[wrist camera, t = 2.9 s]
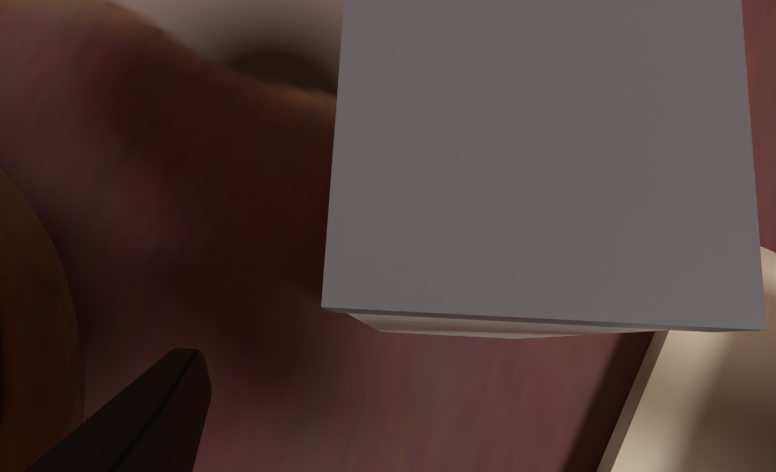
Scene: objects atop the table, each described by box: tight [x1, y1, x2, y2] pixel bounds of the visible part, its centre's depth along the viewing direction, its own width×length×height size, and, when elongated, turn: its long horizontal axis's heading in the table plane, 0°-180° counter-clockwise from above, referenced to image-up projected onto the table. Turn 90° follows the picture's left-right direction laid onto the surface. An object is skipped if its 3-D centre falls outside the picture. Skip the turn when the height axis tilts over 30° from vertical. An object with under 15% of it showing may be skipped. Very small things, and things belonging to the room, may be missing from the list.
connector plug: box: [321, 0, 767, 339], centre depth 13 cm, size 5×5×13 cm
